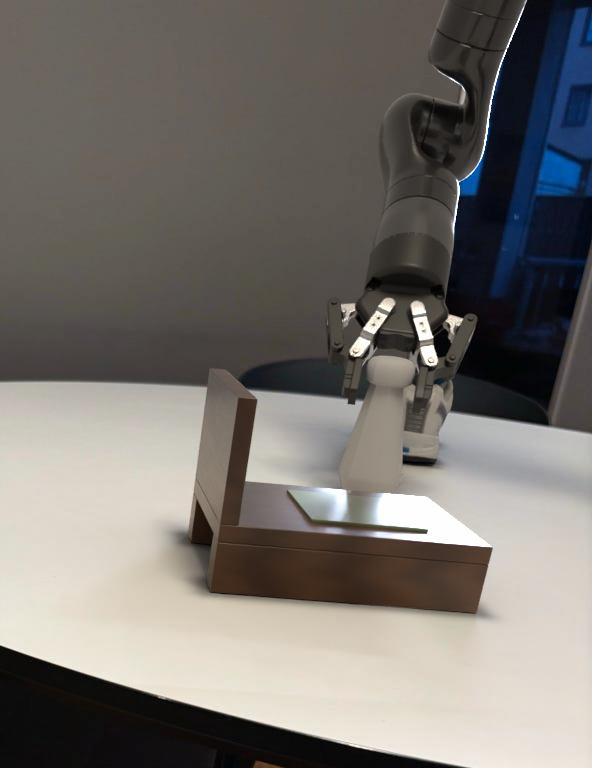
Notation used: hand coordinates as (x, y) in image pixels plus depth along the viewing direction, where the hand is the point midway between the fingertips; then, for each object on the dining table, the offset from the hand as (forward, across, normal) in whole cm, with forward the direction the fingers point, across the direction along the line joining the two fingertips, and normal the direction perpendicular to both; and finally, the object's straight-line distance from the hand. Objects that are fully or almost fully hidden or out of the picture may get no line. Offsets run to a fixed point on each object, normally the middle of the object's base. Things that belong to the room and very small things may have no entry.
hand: (384, 402), depth 90 cm
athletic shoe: (-17, +4, +30) cm, 35 cm away
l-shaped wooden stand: (+24, -2, -10) cm, 26 cm away
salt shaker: (+5, 0, +8) cm, 10 cm away
